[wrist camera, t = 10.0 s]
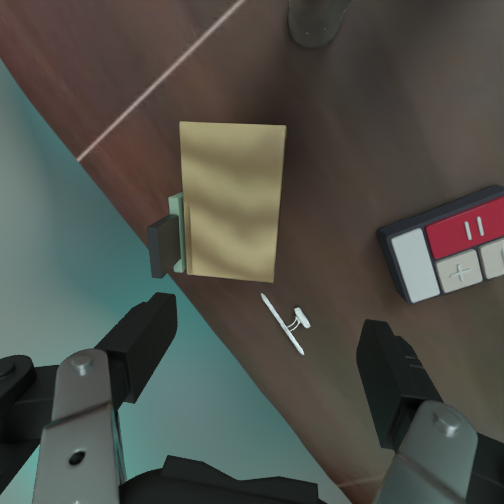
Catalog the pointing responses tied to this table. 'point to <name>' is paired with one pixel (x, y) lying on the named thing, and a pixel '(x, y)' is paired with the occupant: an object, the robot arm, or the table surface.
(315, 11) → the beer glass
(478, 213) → the calculator
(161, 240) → the sliding door
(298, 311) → the picture light
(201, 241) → the cabinet
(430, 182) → the table surface
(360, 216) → the table surface
